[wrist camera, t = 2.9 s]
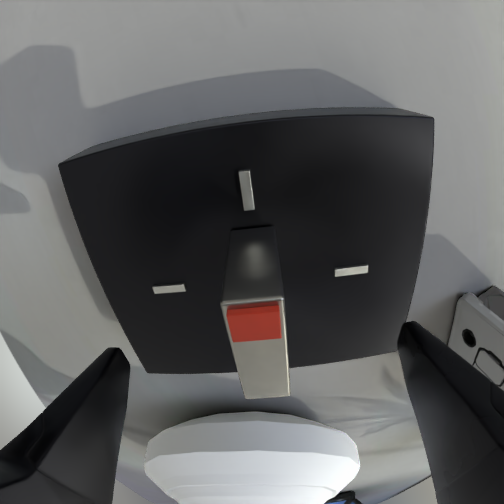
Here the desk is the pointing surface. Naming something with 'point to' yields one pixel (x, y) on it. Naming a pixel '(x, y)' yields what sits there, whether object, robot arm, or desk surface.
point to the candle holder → (251, 460)
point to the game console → (344, 499)
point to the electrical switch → (481, 333)
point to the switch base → (255, 216)
